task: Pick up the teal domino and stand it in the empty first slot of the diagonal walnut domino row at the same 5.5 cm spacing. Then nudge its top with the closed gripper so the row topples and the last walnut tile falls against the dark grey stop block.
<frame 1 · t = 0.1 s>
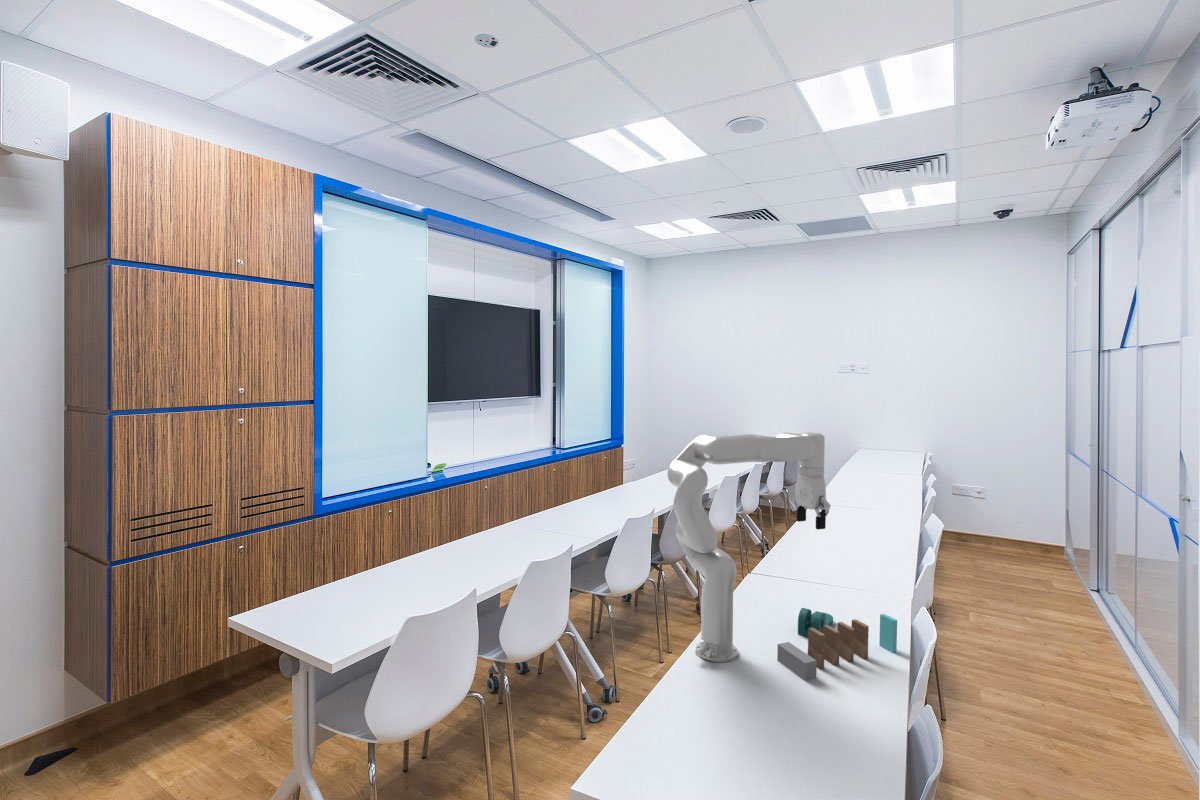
hand: (810, 524, 184), 37 cm above the table, tool pointing down, fingers open, 9 cm apart
domino 3: (845, 658, 173), on the table
teal domino: (887, 648, 179), on the table
domino 4: (830, 661, 171), on the table
stop block: (796, 668, 167), on the table
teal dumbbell: (817, 628, 194), on the table
domino 5: (815, 664, 169), on the table
domino 2: (859, 655, 175), on the table
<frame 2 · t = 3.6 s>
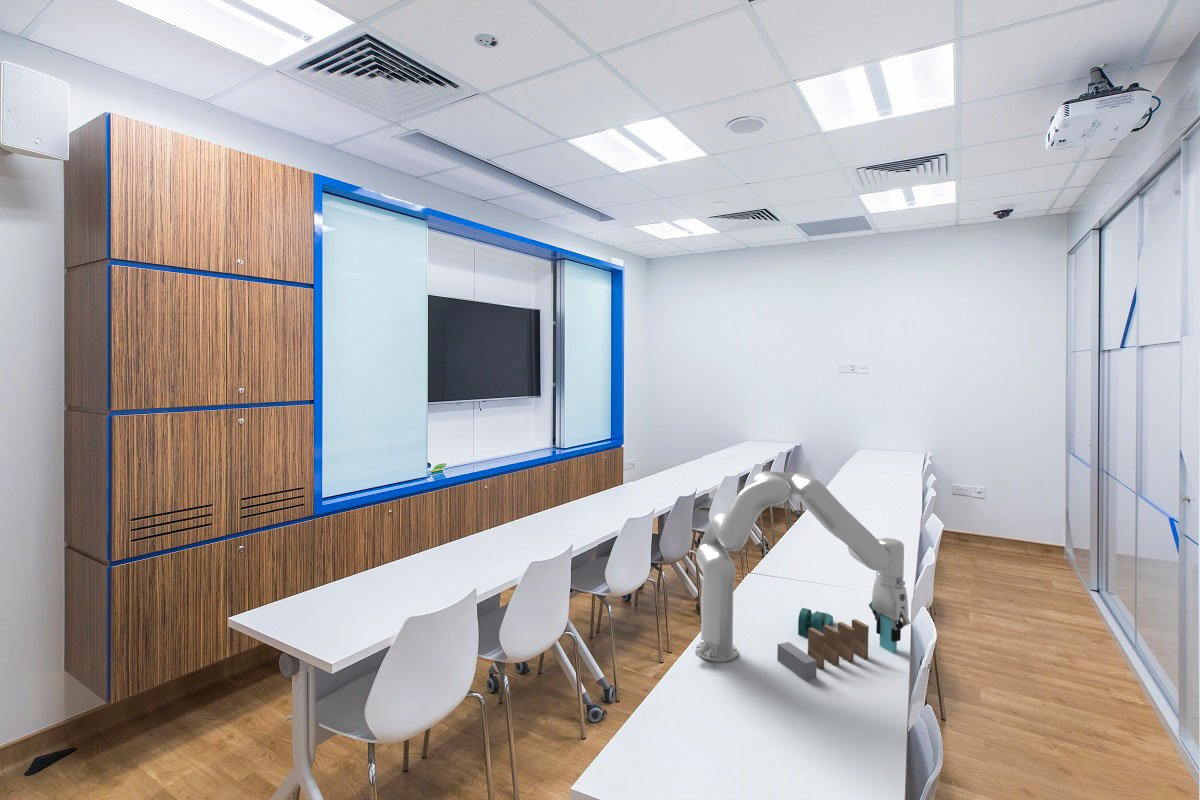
hand: (888, 636, 179), 4 cm above the table, tool pointing down, fingers closed on teal domino, 4 cm apart
teal domino: (887, 648, 179), on the table, touching gripper
everything else where it was.
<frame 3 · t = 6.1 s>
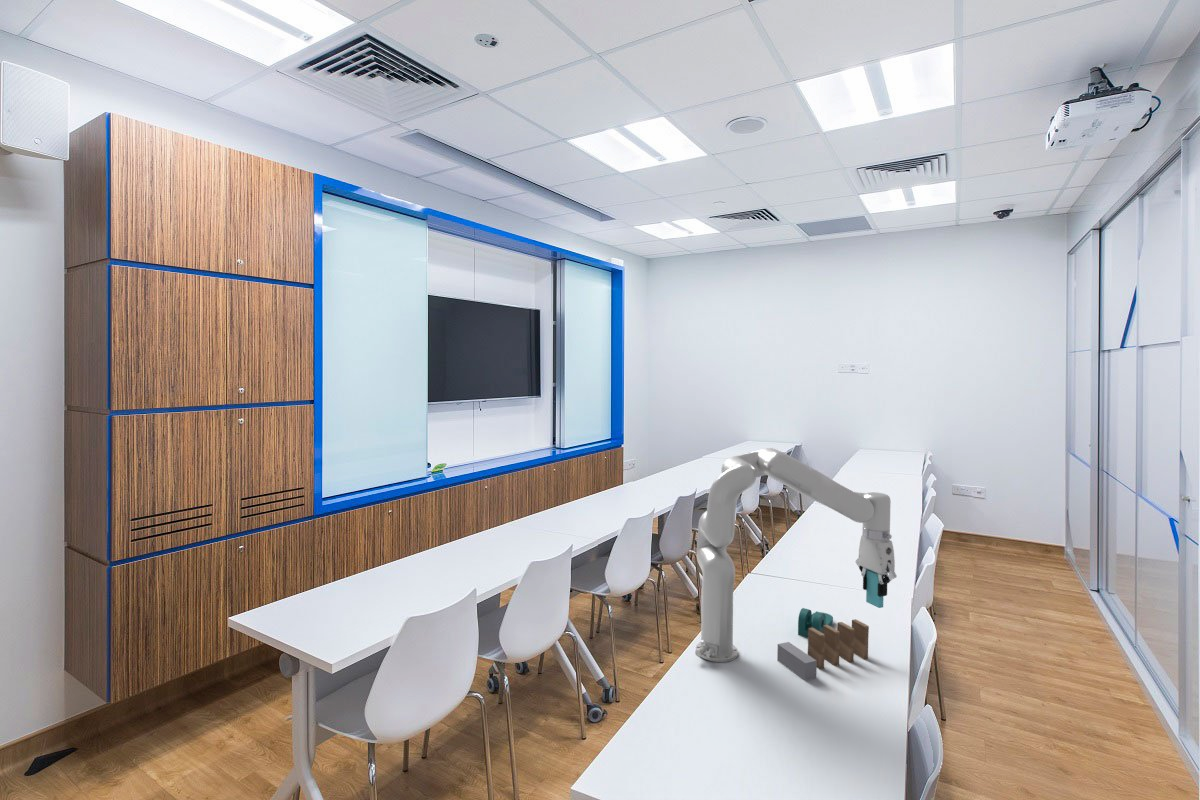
hand: (874, 591, 176), 19 cm above the table, tool pointing down, fingers closed on teal domino, 4 cm apart
teal domino: (874, 604, 176), point 15 cm above the table, touching gripper
everything else where it was.
when the fingers open (5 cm above the table, at t = 8.8 s): teal domino drops 1 cm, on the table.
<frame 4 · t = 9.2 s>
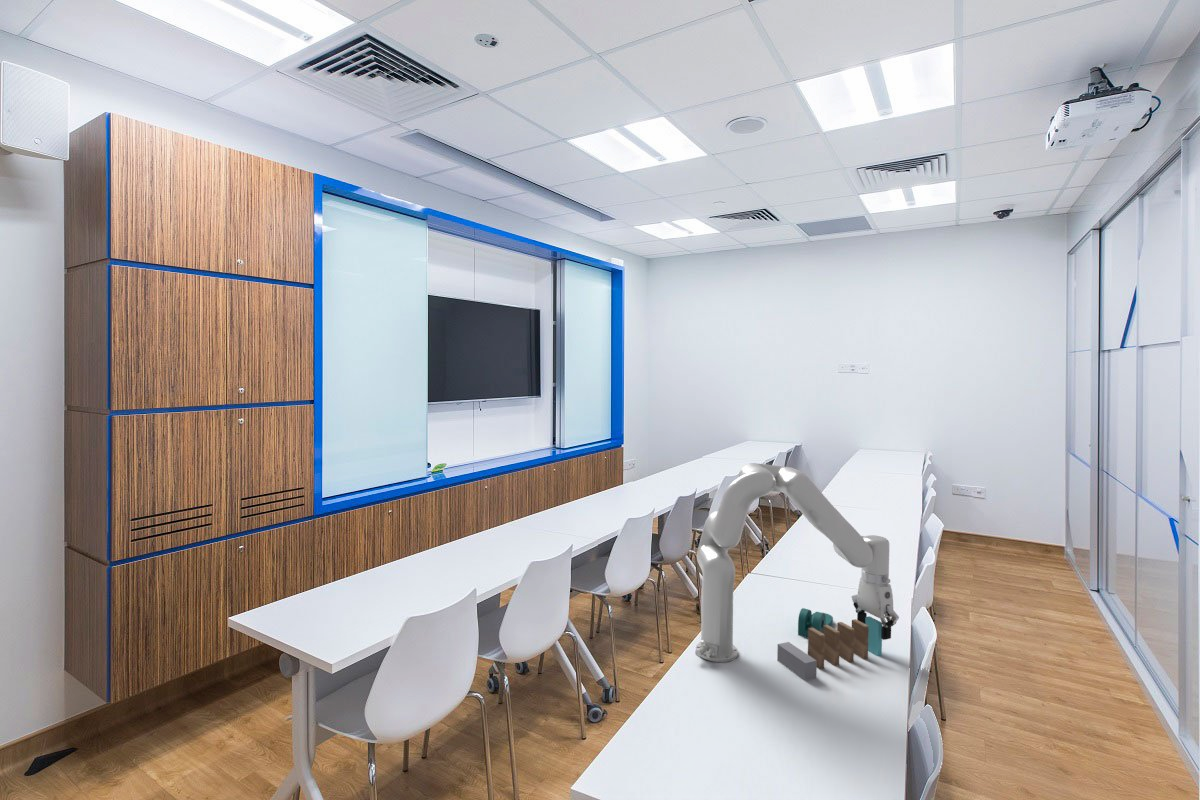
hand: (873, 632, 177), 6 cm above the table, tool pointing down, fingers open, 9 cm apart
teal domino: (872, 651, 177), on the table
everything else where it was.
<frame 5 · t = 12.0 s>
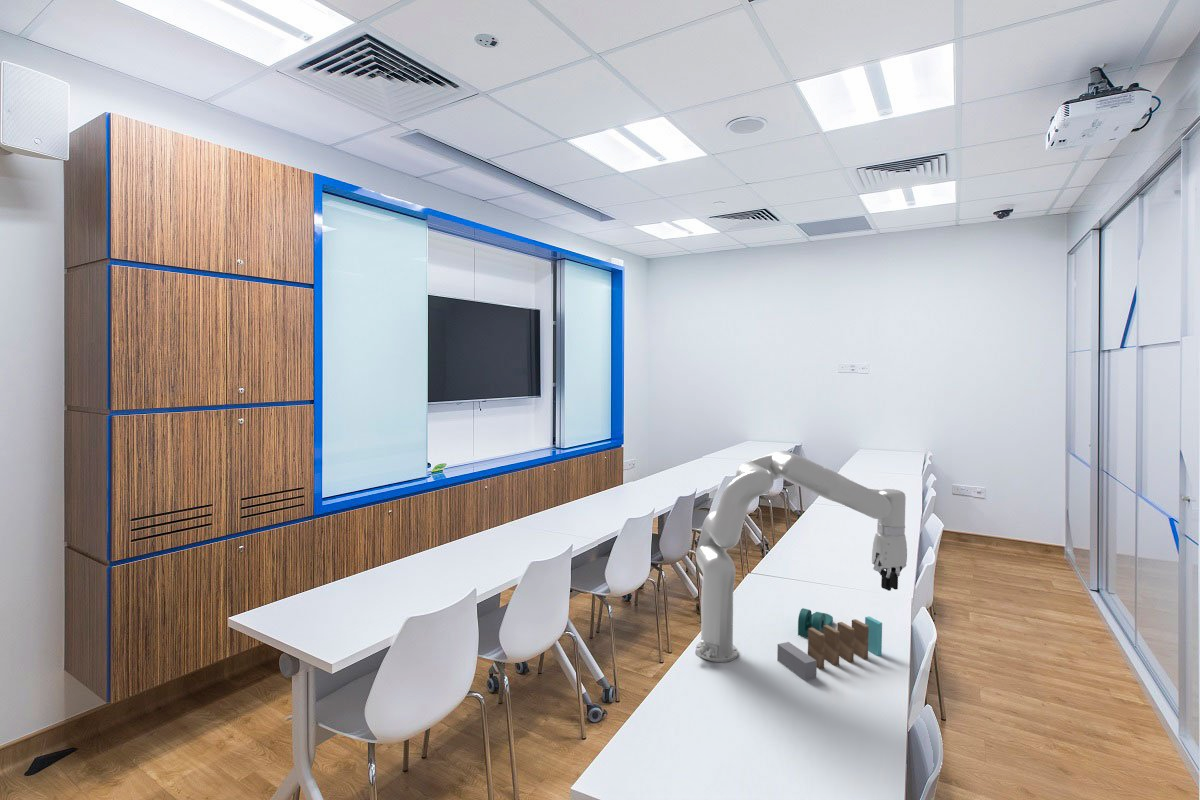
hand: (889, 588, 178), 19 cm above the table, tool pointing down, fingers closed
nothing on the table moved.
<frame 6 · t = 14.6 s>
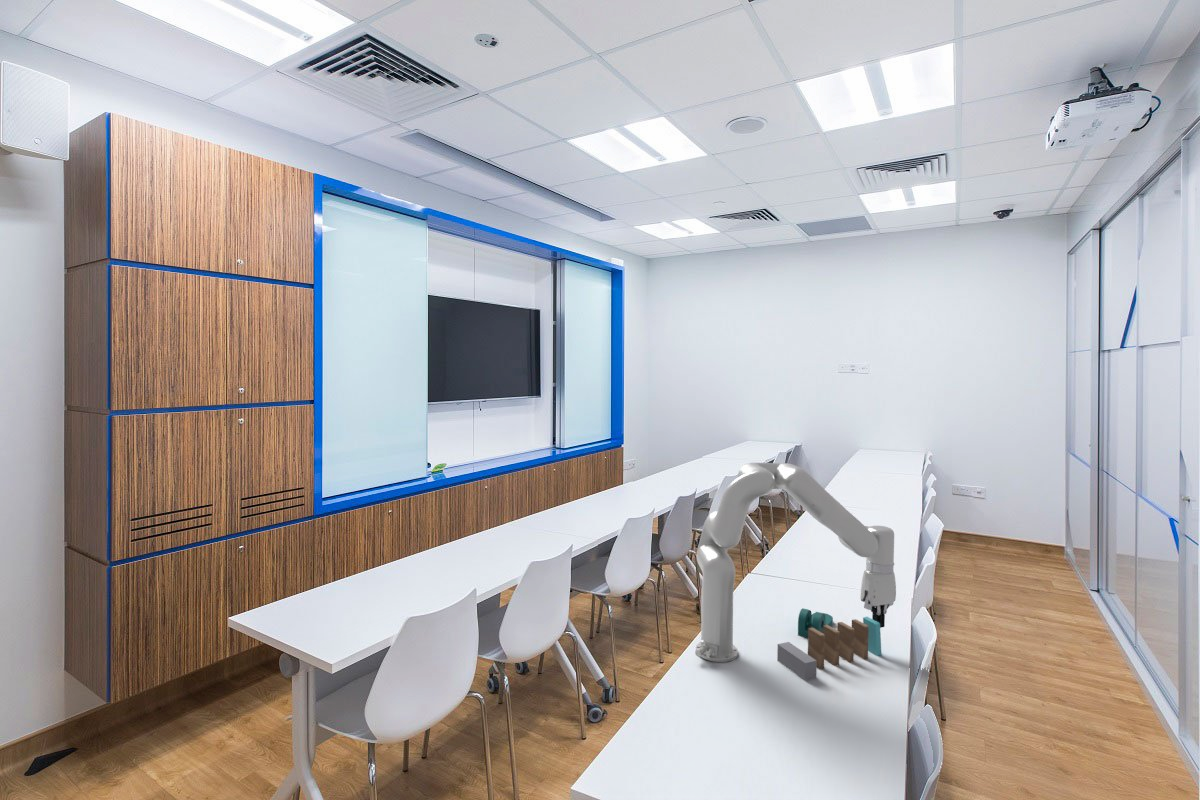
hand: (878, 625, 177), 8 cm above the table, tool pointing down, fingers closed
teal domino: (872, 651, 177), on the table, tilted 5°
everything else where it was.
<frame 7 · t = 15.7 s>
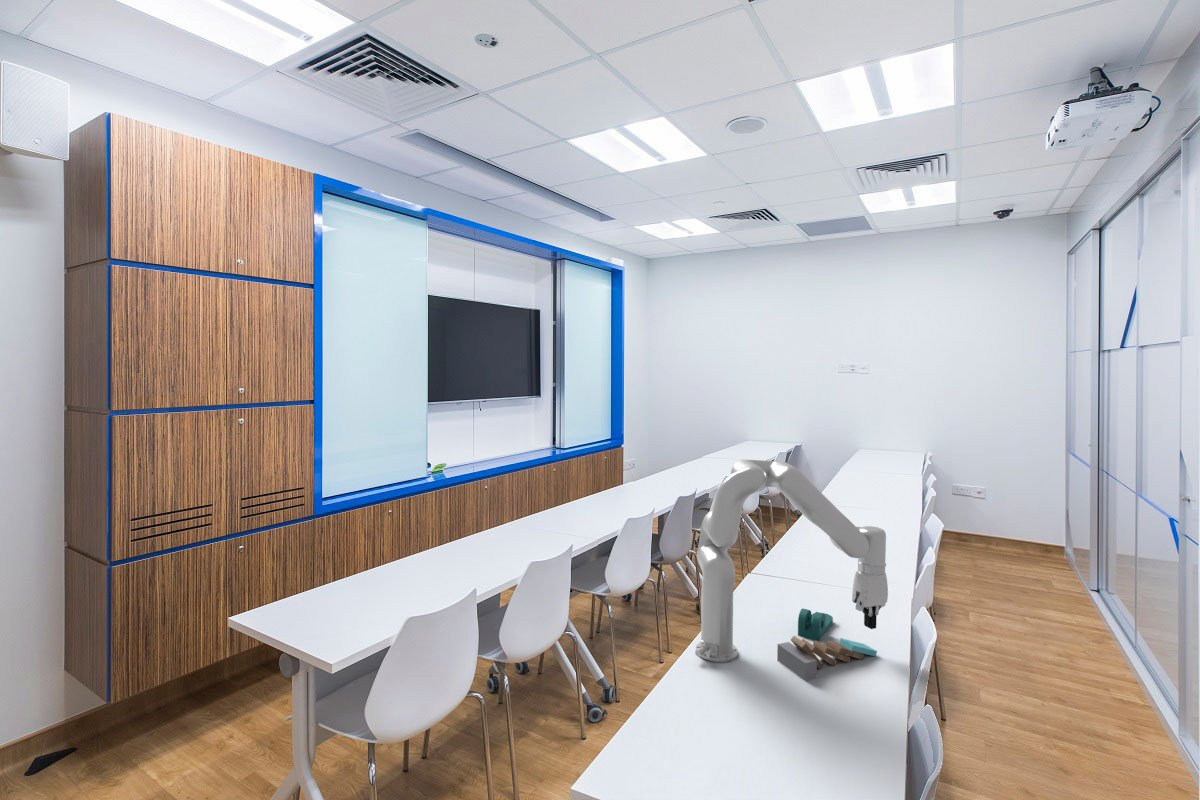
hand: (870, 626, 176), 8 cm above the table, tool pointing down, fingers closed
domino 3: (843, 656, 173), point 1 cm above the table, tilted 63°, touching domino 2, domino 4
teal domino: (869, 650, 177), point 1 cm above the table, tilted 70°, touching domino 2
domino 4: (828, 659, 171), point 1 cm above the table, tilted 53°, touching domino 3, domino 5
domino 5: (815, 663, 169), point 1 cm above the table, tilted 40°, touching domino 4, stop block
domino 2: (857, 653, 175), point 1 cm above the table, tilted 68°, touching domino 3, teal domino
everything else where it was.
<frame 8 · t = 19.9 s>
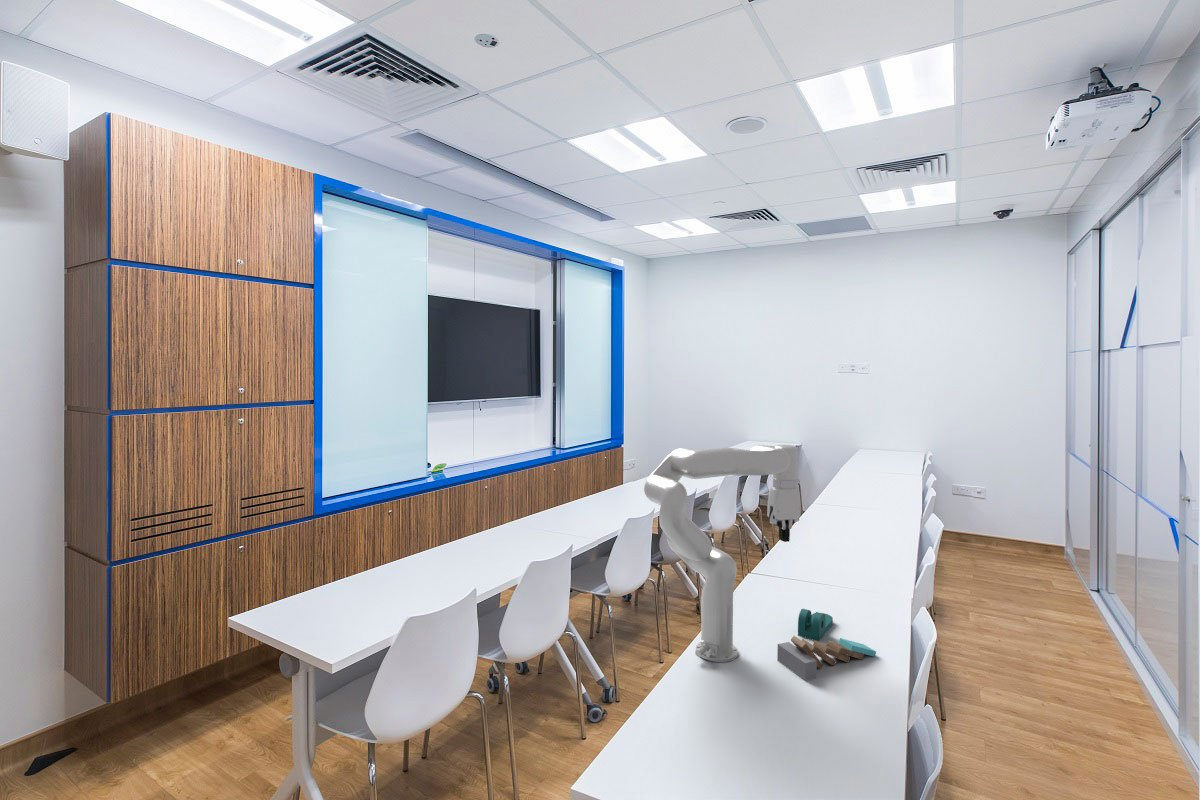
hand: (784, 540, 184), 32 cm above the table, tool pointing down, fingers closed
nothing on the table moved.
at the end: teal domino inside the target area (1.6 cm from its centre), point 0.7 cm above the table; teal domino tilted 69°; domino 5 tilted 40° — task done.
